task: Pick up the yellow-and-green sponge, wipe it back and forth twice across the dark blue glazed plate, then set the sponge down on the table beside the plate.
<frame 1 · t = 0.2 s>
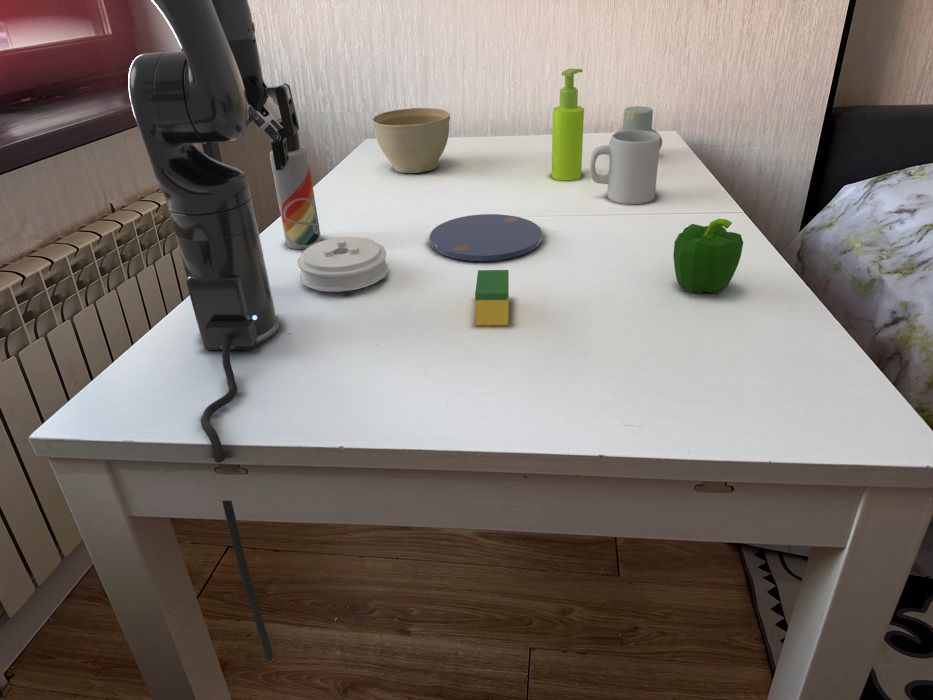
hand: (249, 169, 91), 17 cm above the table, tool pointing down, fingers open, 8 cm apart
bell pepper: (700, 288, 94), on the table
planter bowl: (415, 168, 150), on the table
soap dispenser: (567, 176, 140), on the table
lotion bottle: (304, 244, 115), on the table
plate: (485, 240, 112), on the table
mug: (621, 198, 127), on the table
sponge: (493, 312, 91), on the table
lid: (345, 279, 102), on the table
air freshener: (634, 158, 149), on the table
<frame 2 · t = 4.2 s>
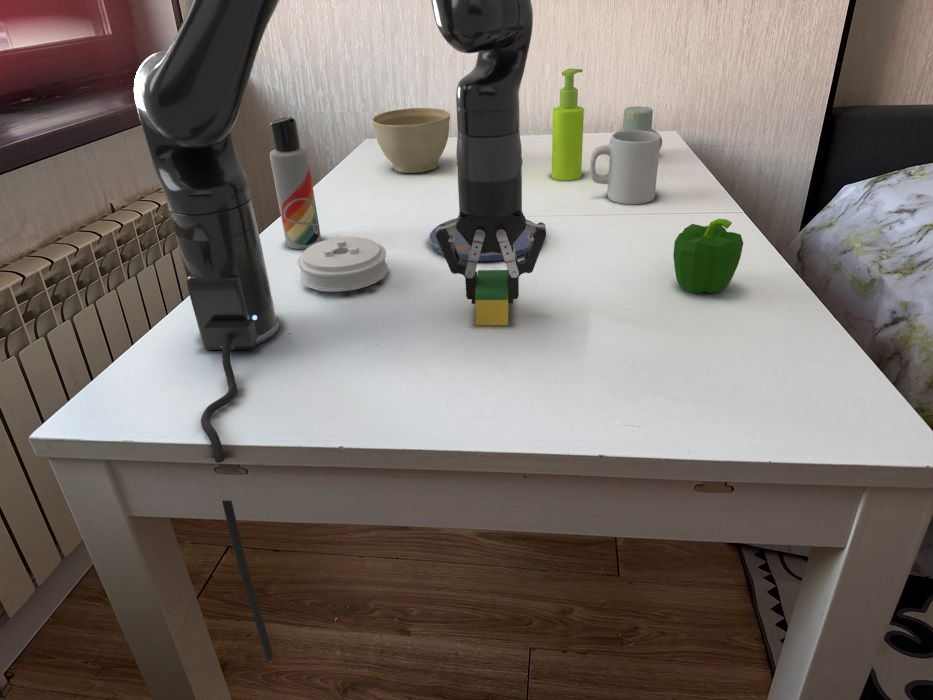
hand: (492, 300, 90), 2 cm above the table, tool pointing down, fingers closed on sponge, 4 cm apart
sponge: (493, 312, 91), on the table, touching gripper
everything else where it was.
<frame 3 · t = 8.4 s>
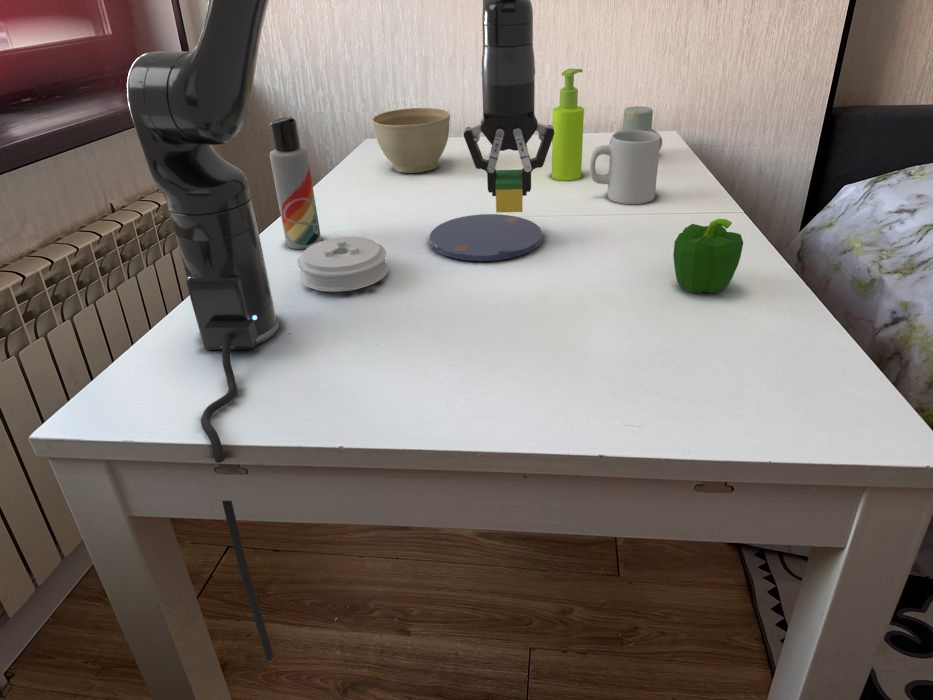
hand: (509, 193, 108), 8 cm above the table, tool pointing down, fingers closed on sponge, 4 cm apart
sponge: (509, 204, 109), point 6 cm above the table, touching gripper
everything else where it was.
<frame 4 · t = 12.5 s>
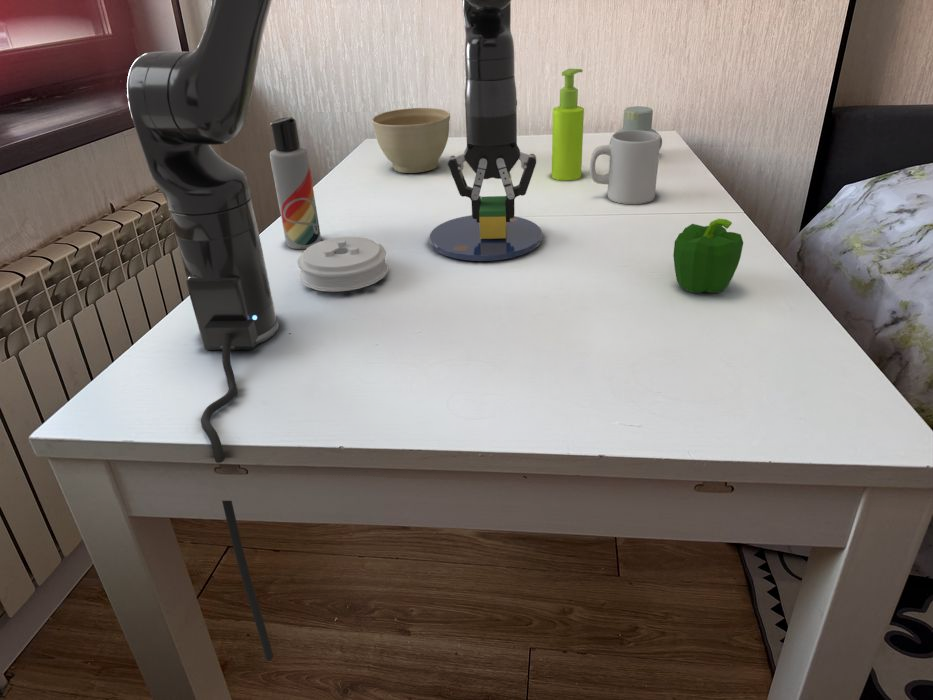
hand: (493, 220, 111), 3 cm above the table, tool pointing down, fingers closed on sponge, 4 cm apart
sponge: (493, 230, 111), point 2 cm above the table, touching gripper
everything else where it was.
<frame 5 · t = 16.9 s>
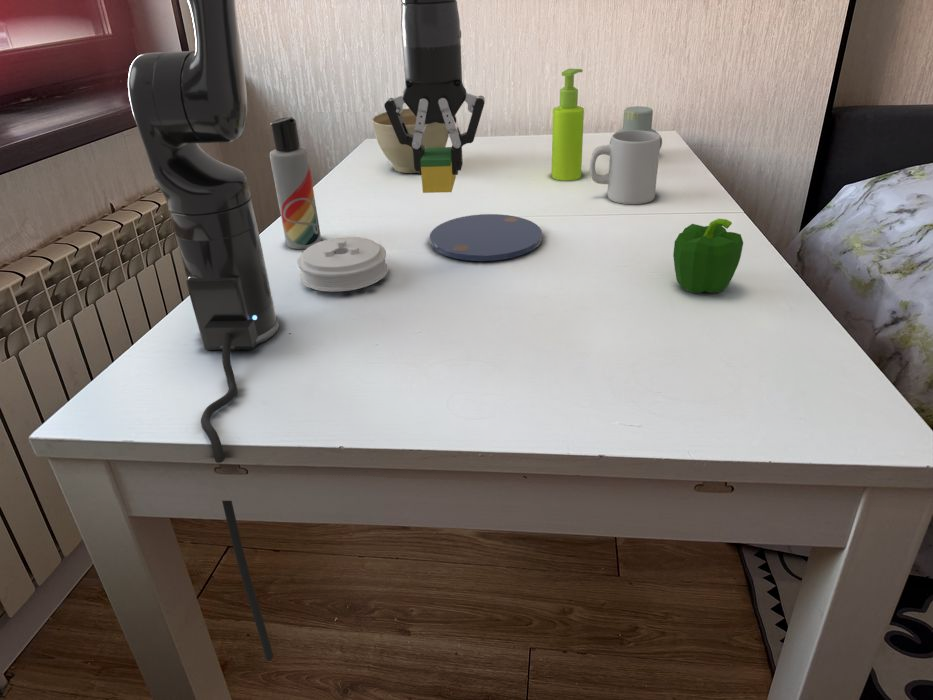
hand: (439, 173, 98), 14 cm above the table, tool pointing down, fingers closed on sponge, 4 cm apart
sponge: (439, 185, 99), point 12 cm above the table, touching gripper
everything else where it was.
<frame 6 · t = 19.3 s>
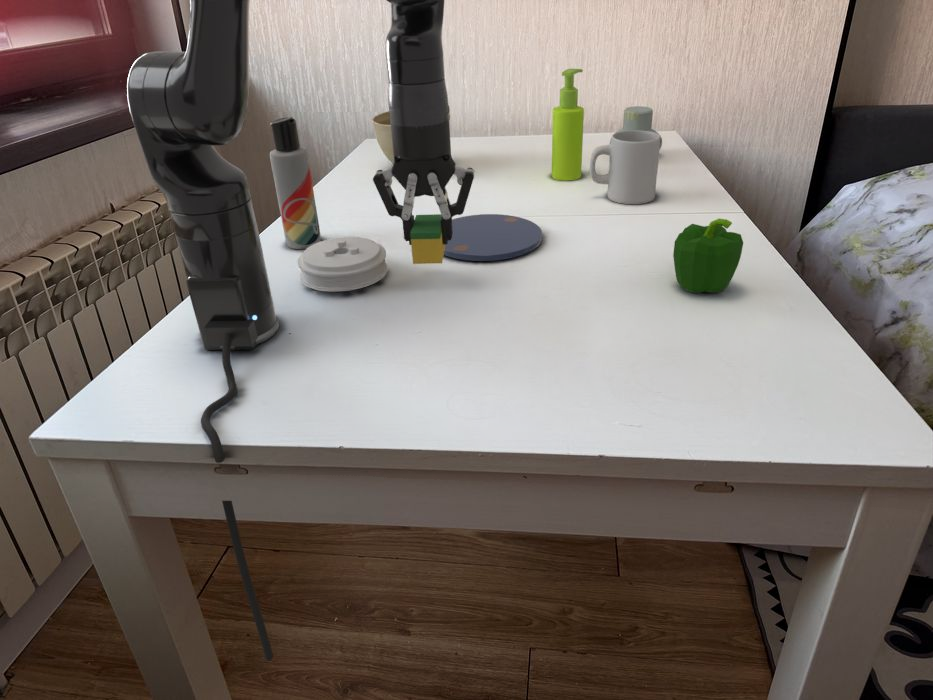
hand: (429, 242, 97), 6 cm above the table, tool pointing down, fingers closed on sponge, 4 cm apart
sponge: (429, 253, 98), point 4 cm above the table, touching gripper
everything else where it was.
when the fingers open (2 cm above the table, at t = 20.8 s): sponge stays where it is, on the table.
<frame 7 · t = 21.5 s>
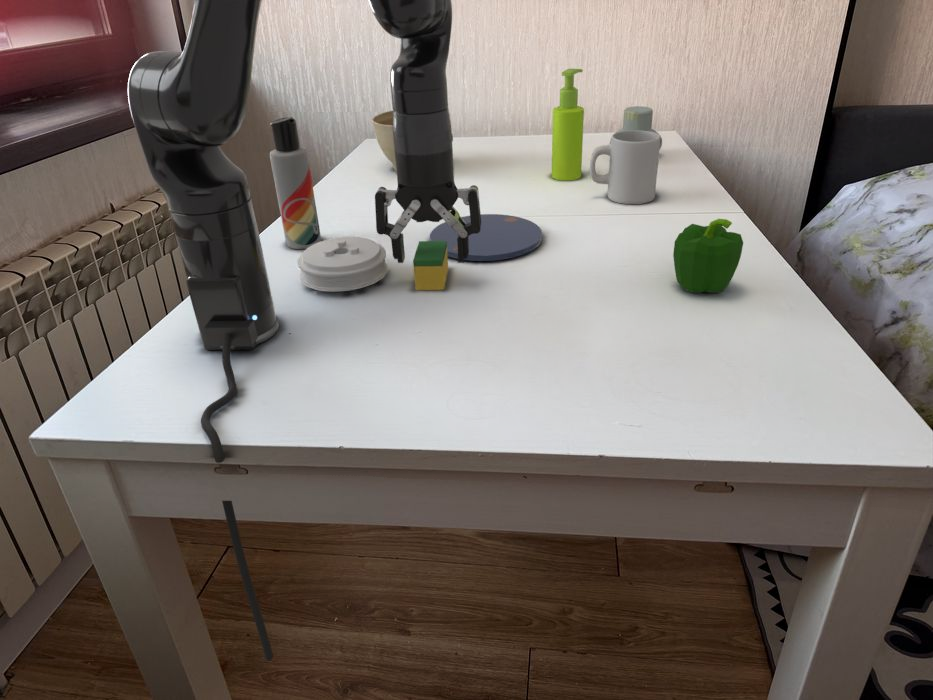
hand: (431, 260, 98), 3 cm above the table, tool pointing down, fingers open, 8 cm apart
sponge: (432, 279, 100), on the table
everything else where it was.
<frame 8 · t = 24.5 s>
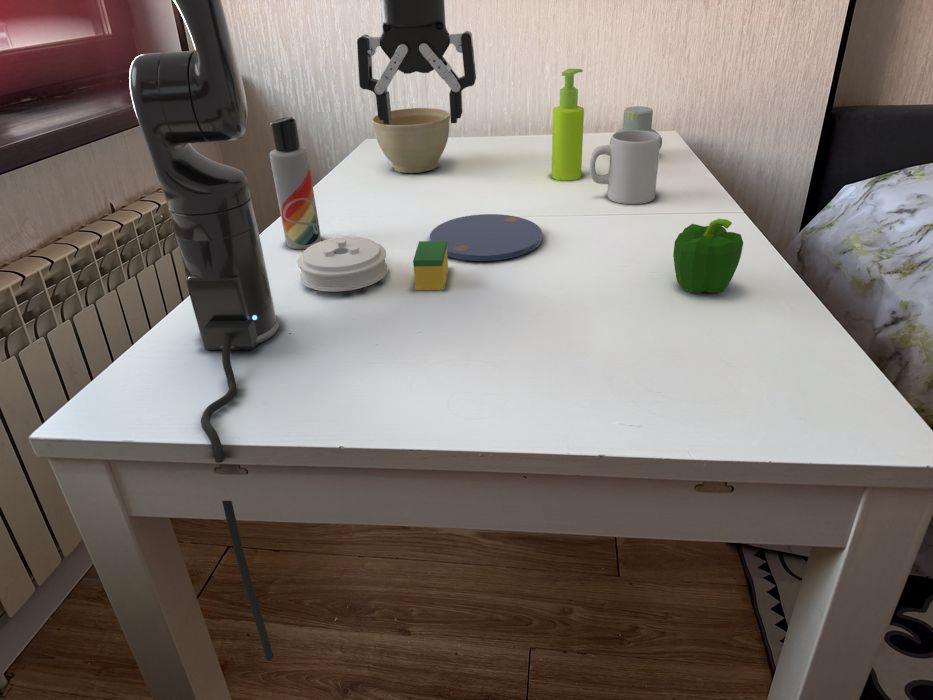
hand: (421, 122, 89), 22 cm above the table, tool pointing down, fingers open, 8 cm apart
nothing on the table moved.
at the end: sponge inside the target area on the table beside the plate (0.4 cm from its centre), on the table; the gripper is holding nothing; sponge tilted 0° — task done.
